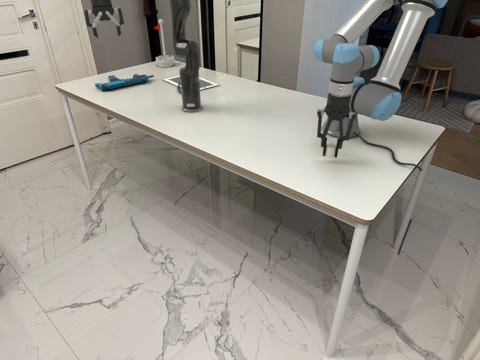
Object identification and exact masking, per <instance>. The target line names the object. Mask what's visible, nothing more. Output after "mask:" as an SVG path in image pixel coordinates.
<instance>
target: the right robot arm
mask: <svg viewBox="0 0 480 360" xmlns="http://www.w3.org/2000/svg"><path fill="white" fill-rule="evenodd" d="M448 1H449V0H364V1H363V2H362V4H361V5H360V6H359V7H358V8H357V9H356V10H354V12H353V13H352V14H351V15H350V16H349V17H348V18H347V19H346V21H344V23H342V25H341V26H339V28H338V29H337V30H336V31H335V32H334V33H333V35H331V36H330V37H329V38H328V39H327V38H322V39H319V40H318V41H317V42H315V45H314V48H313V56H314V58H315V60H316V61H319V62H322V63H325V64H330V65H331V74H330V79H329V86H328V94H327V99H326V105H325V106H324V108H318V109H316V115H317V131H316V137H317V138H320V147H321V148H322V157H325V150H326V144H328V137H327V135H329V136H332V137H335V138H337V139H336V144H335V145H336V152H335V157H334V158H336V159H337V158H338V154H339V150H342V149H343V146H344V145H343V143H344V141H349V140H350V138H354V137H357V138H359V139H360V140H362V142H363V143H365V144H367V145H370V146H373V147H379V148H382V149H386V150H388V151H389V152H390V153H391V156H392V157H391V158H392V160H393V161H394V162H395V163H397V164H398V165H403V166H412V167H414V168H417V170H419V171H420V172H423V169H422V168H421V167H420V166H419V165H418V164H415V163H409V162H402V161H399V160H397V159H396V157H395V153H394V151H393V149H391V148H390V147H388V146H385V145H382V144H376V143H372V142H369V141H367V140H366V139H365V138H363V137H362V136H361V135H360V134H359V132H360V125H359V118H358V117H359V116H358V115H360V116H364V117H367V118H370V119H371V120H376V121H381V122H384V121H388V120H390V119H391V118H392V117H393V116H394V115H395V114H396V113H397V111H398V109H399V107H400V105H401V103H402V99H403V96H402V94H401V93H400V91H401V86H400V84H399V83H400V80H401V79H402V77H403V74H404V72H405V70H406V67H407V65H408V63H409V61H410V59H411V56H412V54H413V51H414V49H415V48H416V45H417V43H418V41H419V39H420V36H421V34H422V32H423V30H424V27H425V25H426V22H427V21H428V19H429V18H431V17H433V16H434V15H435V13H436V12H437V10H438V9H441V8H444V7H445V5H447V3H448ZM395 5H401V10H402V12H403V13H402V14H401V17H400V19H399V21H398V24H397V27H396V29H395V31H394V34H393V36H392V39H391V41H390V42H389V44H388V45H389V46H388V48H387V50H386V53H385V55H384V57H383V59H382V62H381V64H380V66H379V68H378V71H377V73H376V75H375V77H372V78H371V79H370V80H369V82H368V84H367V83H365V82H366V81H365V78H364V77H361V76H356V74H357V73H359V72H362V71H367V70H370V69H371V68H374V67H375V66H376V65H377V64H378V63H379V61H380V51H379V49H378V48H377V47H376V46H375V45H372V44H369V45H368V44H365V45H358V44H356V43H355V42H356V41H357V40H359V38H360V37H361V36H362V35H363V34H364V32H366V31H367V29H368V28H369V27H370V26H371V25H372V24H373V23H374V21H376V19H378V17H379V16H380V15H381V14H382V13H383V12H385V11H387V10H389V9H390V8H392V6H395ZM324 115H326V116H327V117H326V120H325V121H324V123H323V122H322V121H323V116H324ZM322 123H323V126H322ZM322 130H323V132H322ZM412 222H413V218H411V219H409V221H408V224H407V227H406V230H405V231H404V234H403V237H402V239H401V243H400V245H399V248H398V250H397V255H398V256H400V254H401V252H402V248H403V245H404V243H405V240H406V237H407V235H408V232H409V229H410V226H411V224H412Z"/></svg>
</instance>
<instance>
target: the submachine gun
mask: <svg viewBox="0 0 480 360" xmlns="http://www.w3.org/2000/svg"><path fill="white" fill-rule="evenodd" d="M107 77H108V80H109V82H103V83H100V82H96V83H94V86H95V88H97V89H98V90H100V91H107V90H113V91H114V90H115V89H116V88H120V87H125V86H129V85H134V84H138V83H139V84H140V83H145V82H146V83H147V81H148V80H150V79H151V78H154V77H155V76H154V74H151V75H147V74H138V73H134V74H133V75H132V77H129V78H121V79H120V78H118V77H117V76H116V75H113V74H112V75H108V76H107Z"/></svg>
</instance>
